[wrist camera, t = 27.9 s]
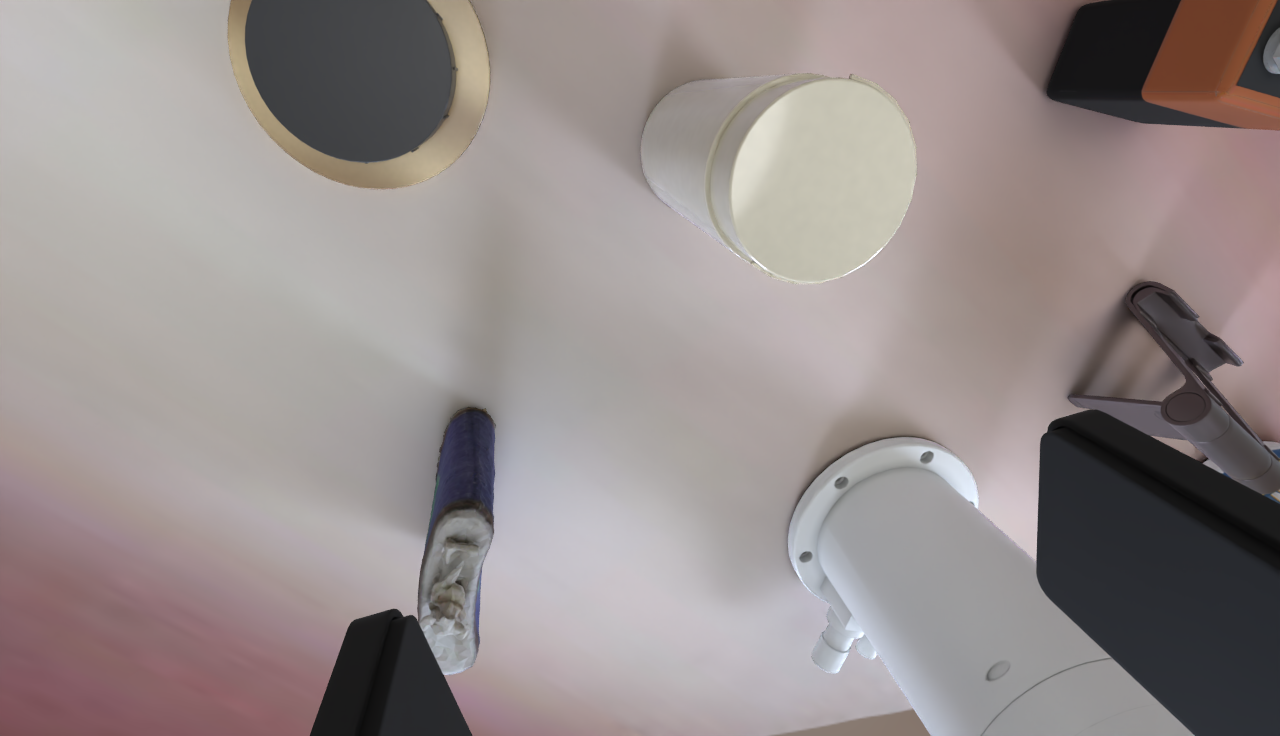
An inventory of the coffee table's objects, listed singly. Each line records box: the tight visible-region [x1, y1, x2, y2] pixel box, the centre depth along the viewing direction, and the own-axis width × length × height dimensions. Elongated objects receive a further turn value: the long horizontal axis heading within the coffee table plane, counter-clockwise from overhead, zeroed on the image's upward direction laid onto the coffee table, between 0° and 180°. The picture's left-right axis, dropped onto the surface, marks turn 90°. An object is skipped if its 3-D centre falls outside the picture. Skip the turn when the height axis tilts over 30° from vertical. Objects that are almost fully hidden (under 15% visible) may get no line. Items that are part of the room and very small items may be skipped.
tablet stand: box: [1068, 281, 1280, 494], centre depth 37 cm, size 9×8×8 cm
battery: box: [1047, 0, 1280, 130], centre depth 28 cm, size 4×7×10 cm, turn 79°
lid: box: [245, 0, 458, 164], centre depth 25 cm, size 7×7×2 cm
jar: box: [641, 73, 917, 284], centre depth 25 cm, size 6×6×13 cm
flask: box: [417, 407, 496, 675], centre depth 30 cm, size 9×3×11 cm, turn 169°
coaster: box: [228, 0, 490, 189], centre depth 26 cm, size 10×10×1 cm
